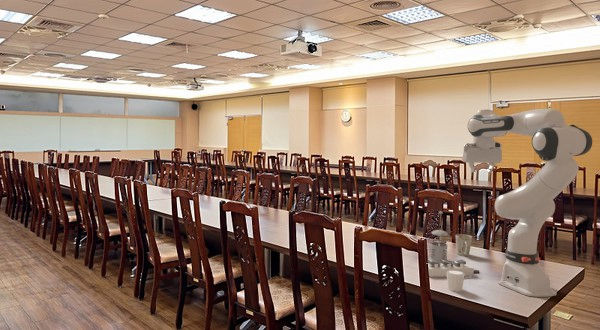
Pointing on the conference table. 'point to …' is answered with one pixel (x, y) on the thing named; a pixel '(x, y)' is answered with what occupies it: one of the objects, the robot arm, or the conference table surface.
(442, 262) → the plate
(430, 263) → the block
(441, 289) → the conference table surface
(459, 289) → the shot glass
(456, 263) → the rocker
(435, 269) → the rocker switch panel
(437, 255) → the french press
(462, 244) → the mug
